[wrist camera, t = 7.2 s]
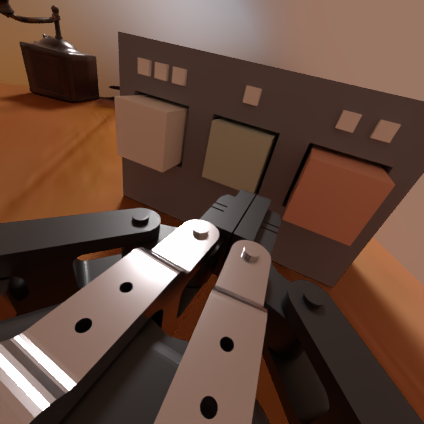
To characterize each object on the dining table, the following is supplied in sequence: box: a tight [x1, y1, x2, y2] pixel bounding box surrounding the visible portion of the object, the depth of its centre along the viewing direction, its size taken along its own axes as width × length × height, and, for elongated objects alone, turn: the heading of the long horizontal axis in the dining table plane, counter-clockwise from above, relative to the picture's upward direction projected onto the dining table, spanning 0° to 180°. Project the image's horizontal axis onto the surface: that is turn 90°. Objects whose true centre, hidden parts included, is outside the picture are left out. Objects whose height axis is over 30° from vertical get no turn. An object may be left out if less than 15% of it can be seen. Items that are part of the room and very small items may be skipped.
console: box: [118, 32, 424, 287], centre depth 21 cm, size 22×8×14 cm, turn 67°
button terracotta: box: [282, 144, 395, 246], centre depth 15 cm, size 4×4×4 cm
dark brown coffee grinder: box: [0, 0, 99, 103], centre depth 47 cm, size 16×11×18 cm
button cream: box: [115, 95, 189, 172], centre depth 18 cm, size 4×4×4 cm
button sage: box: [202, 117, 280, 193], centre depth 18 cm, size 4×4×4 cm
